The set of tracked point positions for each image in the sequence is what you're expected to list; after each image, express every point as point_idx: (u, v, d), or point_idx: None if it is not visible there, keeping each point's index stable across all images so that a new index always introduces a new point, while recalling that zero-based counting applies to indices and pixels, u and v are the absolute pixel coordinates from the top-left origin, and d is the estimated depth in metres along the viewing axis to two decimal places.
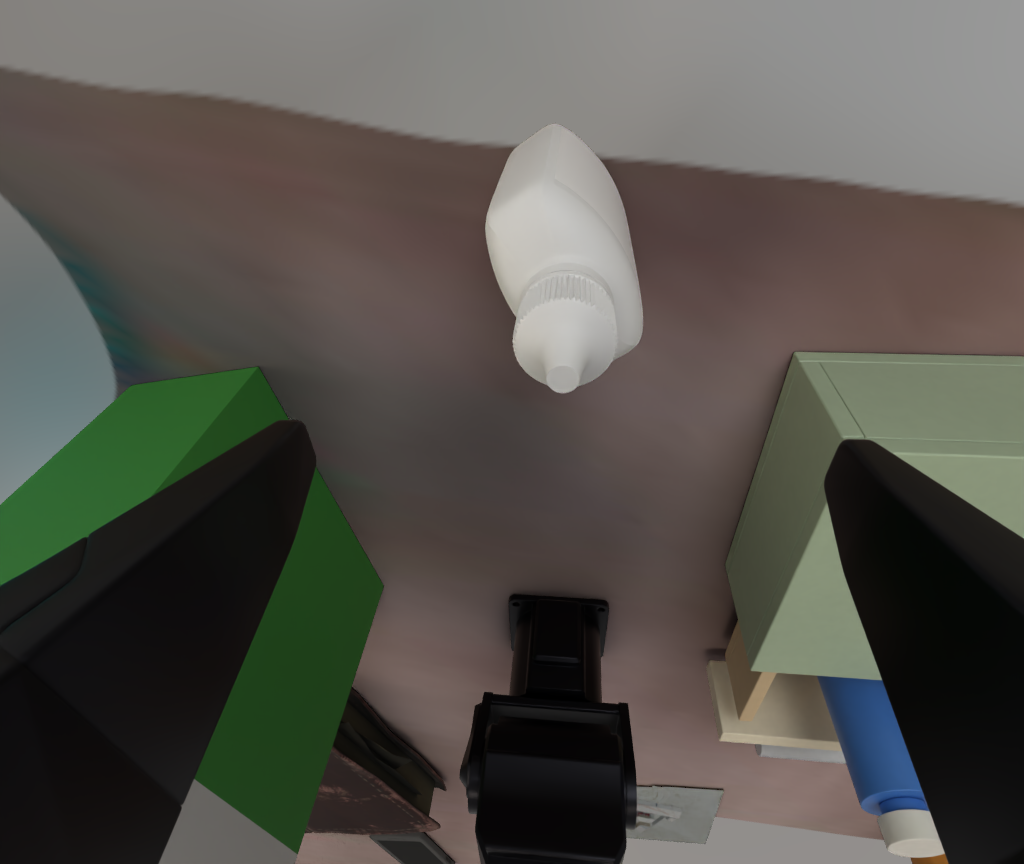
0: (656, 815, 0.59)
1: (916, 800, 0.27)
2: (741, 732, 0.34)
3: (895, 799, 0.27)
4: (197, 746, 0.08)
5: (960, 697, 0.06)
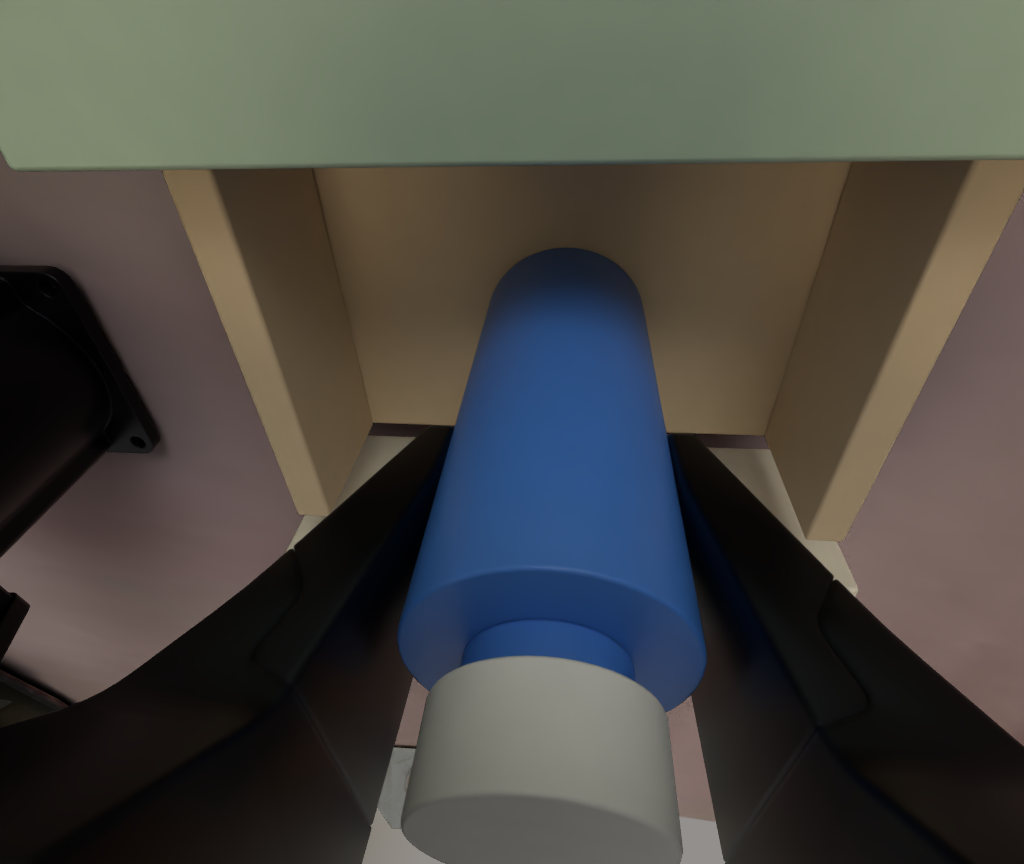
0: None
1: (568, 627, 0.06)
2: None
3: (487, 629, 0.06)
4: (383, 763, 0.07)
5: (720, 679, 0.07)
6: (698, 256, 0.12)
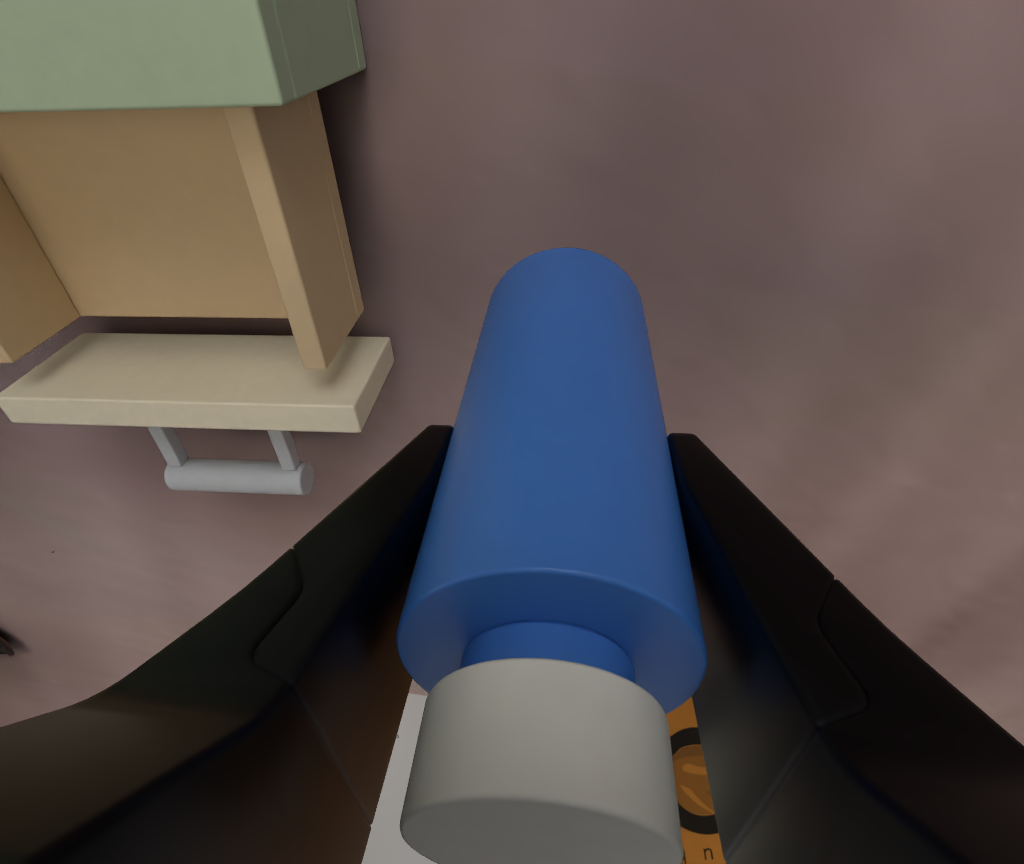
0: None
1: (567, 629, 0.06)
2: (24, 395, 0.20)
3: (487, 631, 0.06)
4: (383, 763, 0.07)
5: (720, 679, 0.07)
6: (232, 186, 0.18)
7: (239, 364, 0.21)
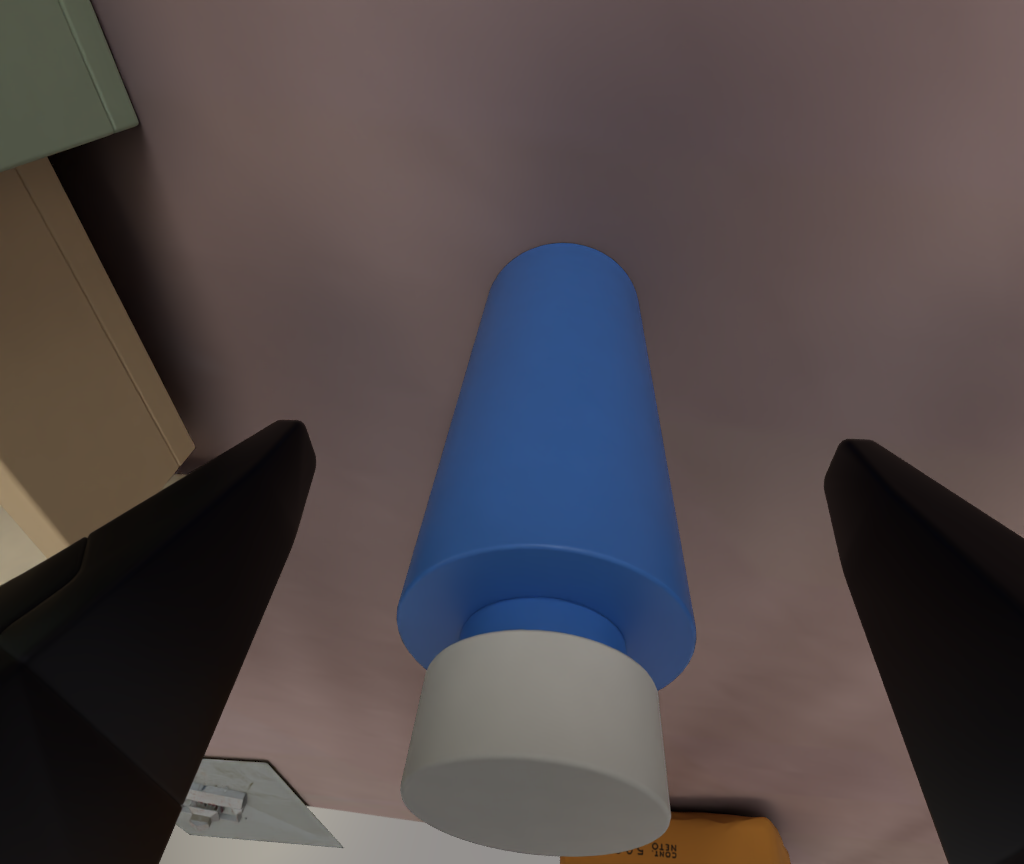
0: None
1: (561, 604, 0.06)
2: None
3: (484, 607, 0.06)
4: (197, 746, 0.08)
5: (960, 697, 0.06)
6: None
7: (16, 527, 0.15)
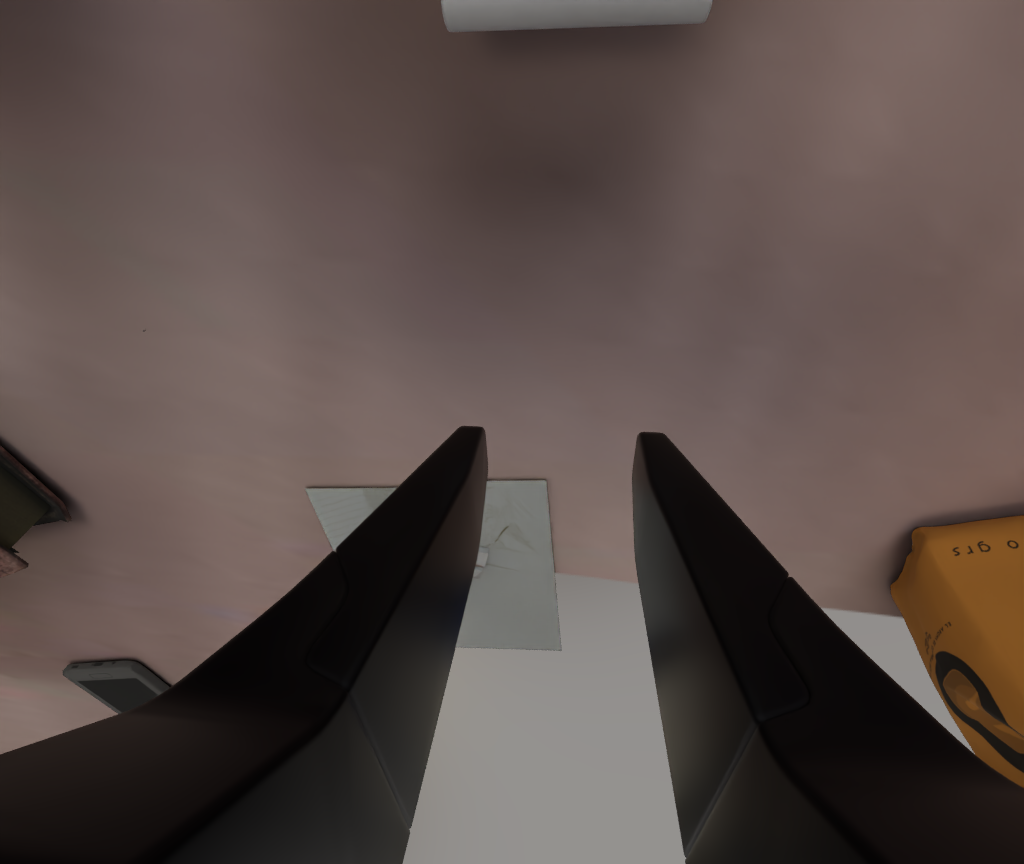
0: None
1: None
2: None
3: None
4: (421, 767, 0.07)
5: (679, 676, 0.07)
6: None
7: None
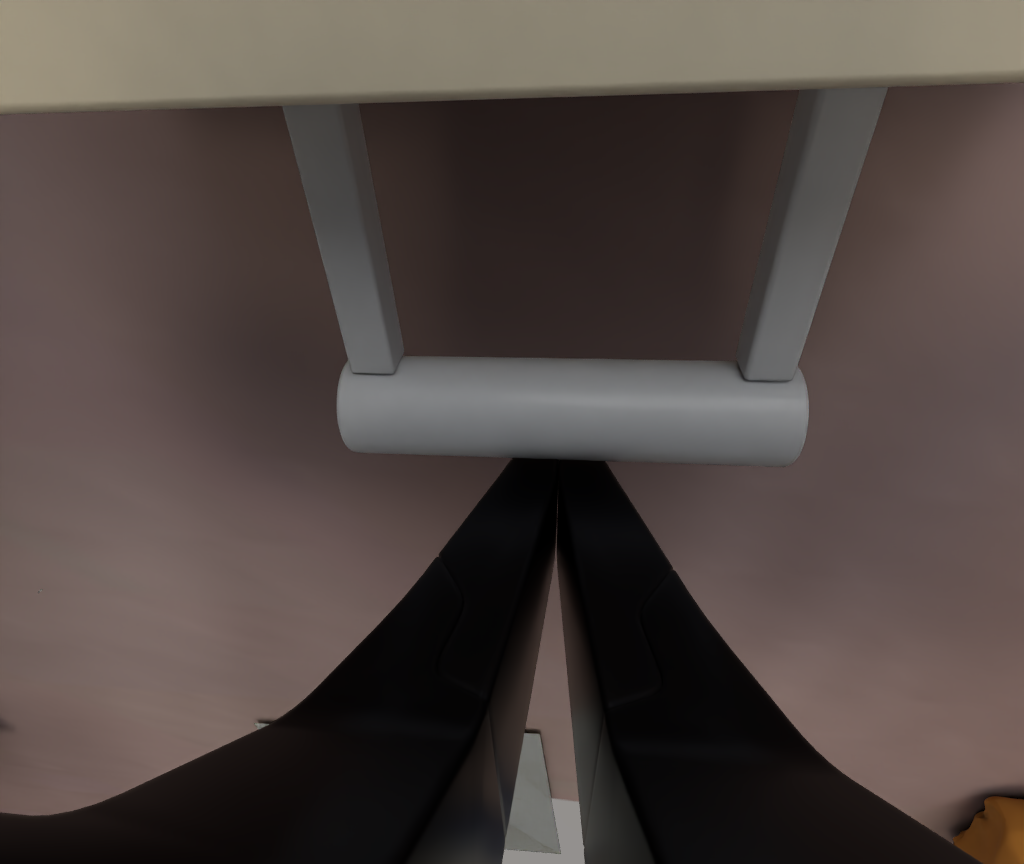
0: None
1: None
2: None
3: None
4: (515, 775, 0.07)
5: (575, 668, 0.07)
6: None
7: None
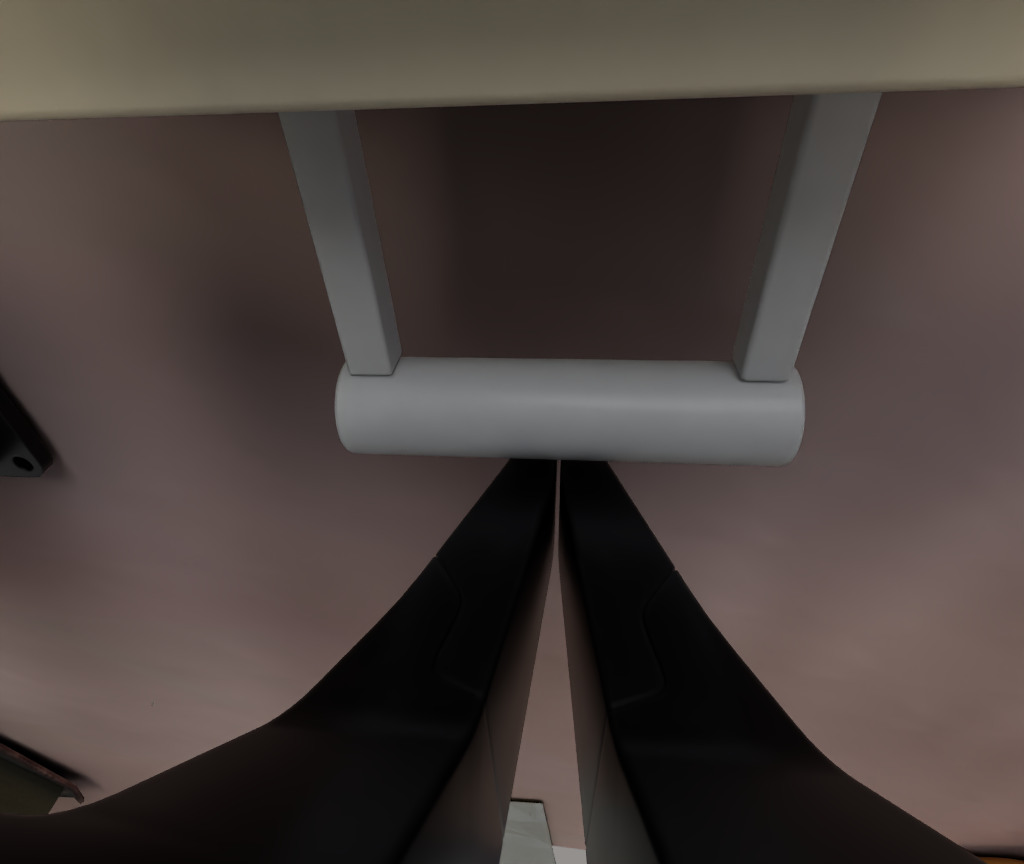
0: None
1: None
2: None
3: None
4: (513, 775, 0.07)
5: (577, 669, 0.07)
6: None
7: None
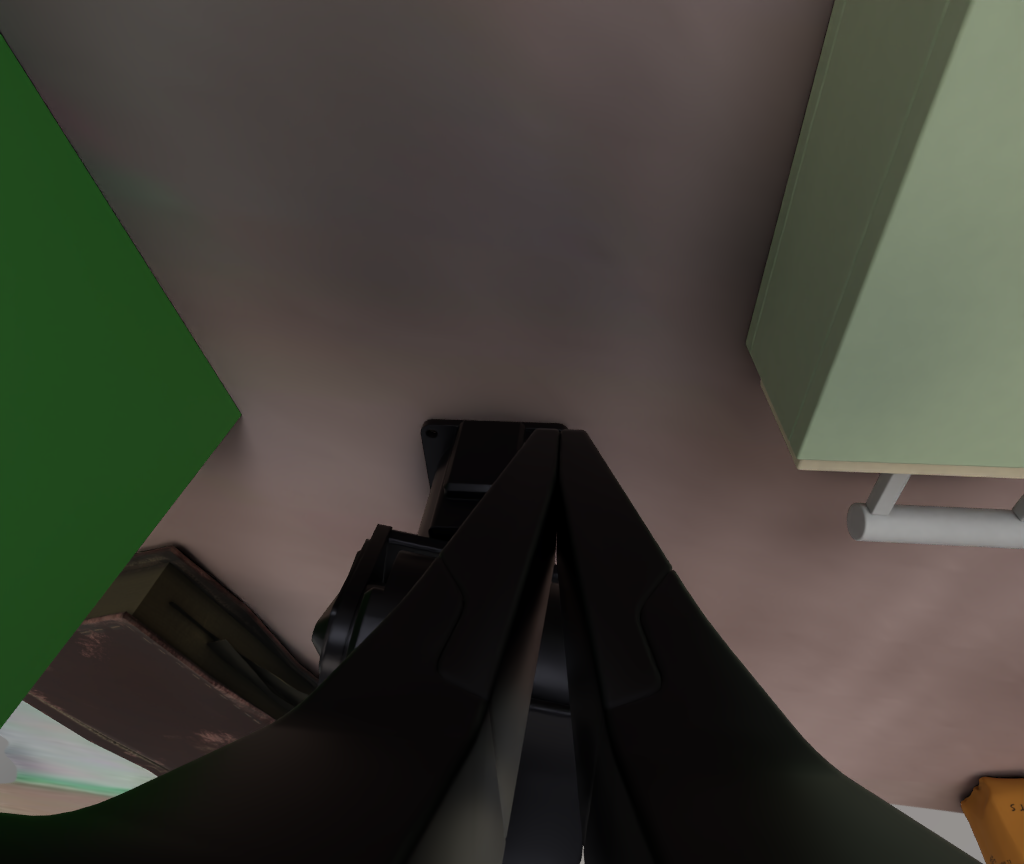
0: None
1: None
2: None
3: None
4: (515, 776, 0.07)
5: (575, 668, 0.07)
6: None
7: None
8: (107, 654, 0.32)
